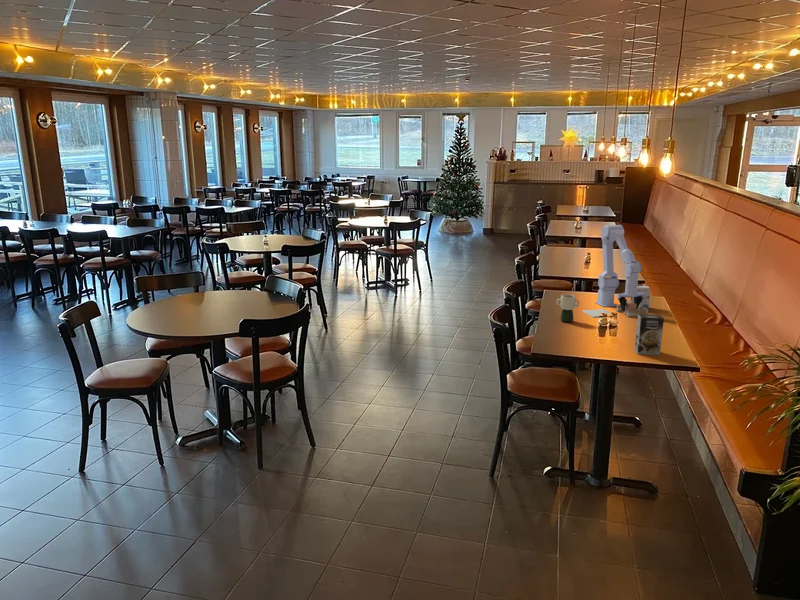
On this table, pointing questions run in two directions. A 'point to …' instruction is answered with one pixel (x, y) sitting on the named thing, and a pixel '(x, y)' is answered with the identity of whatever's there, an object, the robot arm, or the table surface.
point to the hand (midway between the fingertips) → (629, 310)
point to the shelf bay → (633, 311)
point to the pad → (595, 312)
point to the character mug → (567, 307)
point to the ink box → (645, 300)
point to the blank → (629, 306)
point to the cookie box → (649, 334)
